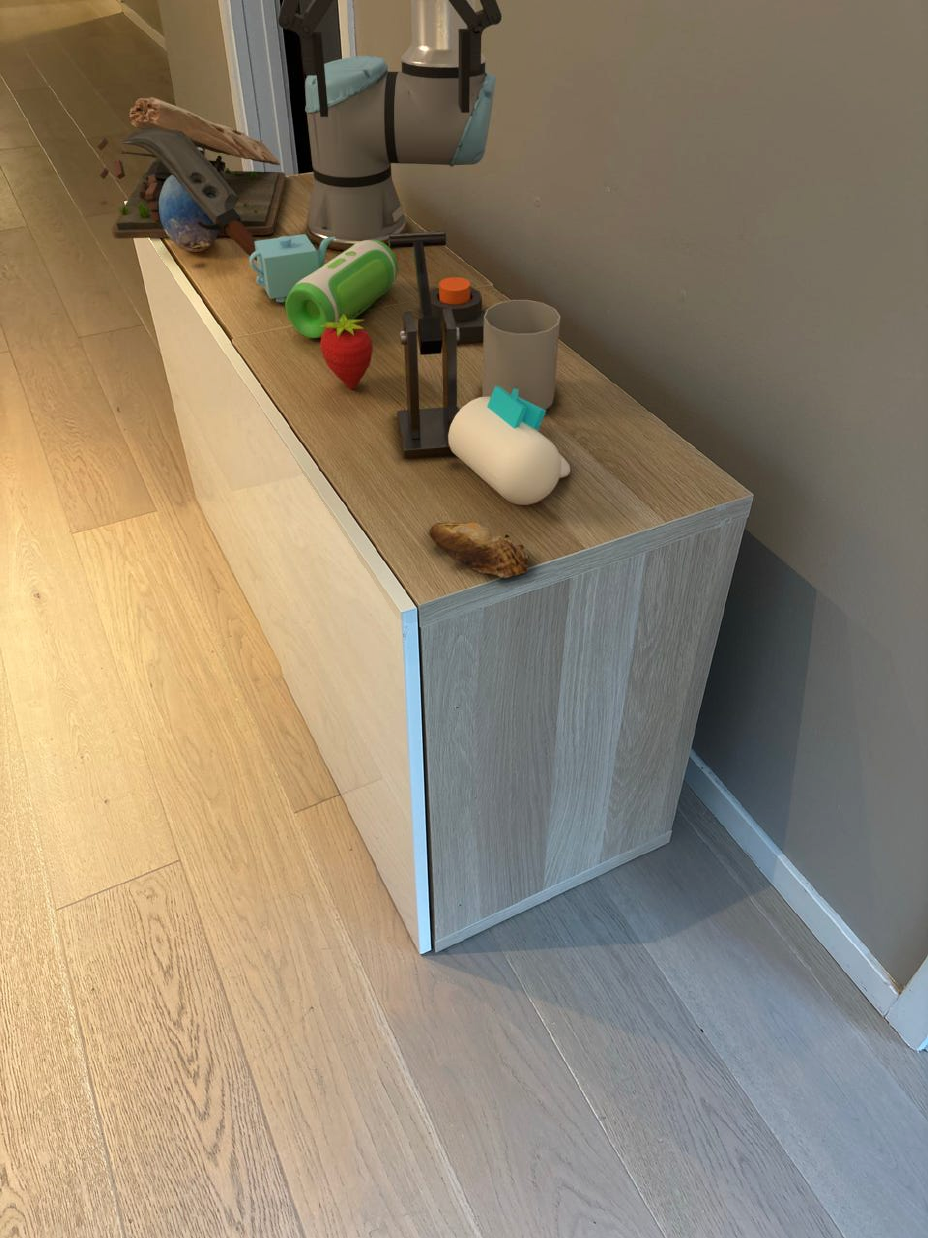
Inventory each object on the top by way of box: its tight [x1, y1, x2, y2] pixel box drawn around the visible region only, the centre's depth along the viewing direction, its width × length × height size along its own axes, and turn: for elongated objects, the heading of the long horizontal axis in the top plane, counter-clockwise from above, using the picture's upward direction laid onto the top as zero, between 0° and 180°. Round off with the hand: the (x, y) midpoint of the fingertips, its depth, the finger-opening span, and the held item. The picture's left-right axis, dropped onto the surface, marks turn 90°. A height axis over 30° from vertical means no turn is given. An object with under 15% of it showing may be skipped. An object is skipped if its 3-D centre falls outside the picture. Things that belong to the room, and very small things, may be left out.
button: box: [438, 276, 471, 304], centre depth 119 cm, size 4×4×2 cm
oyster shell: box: [428, 522, 530, 579], centre depth 88 cm, size 6×4×10 cm
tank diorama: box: [96, 132, 287, 240], centre depth 148 cm, size 28×25×11 cm
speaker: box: [284, 240, 399, 339], centre depth 122 cm, size 18×7×8 cm, turn 152°
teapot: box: [248, 233, 335, 303], centre depth 127 cm, size 12×6×8 cm, turn 111°
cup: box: [481, 299, 561, 411], centre depth 106 cm, size 8×8×10 cm
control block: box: [430, 286, 485, 344], centre depth 121 cm, size 10×7×4 cm
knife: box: [122, 128, 257, 262], centre depth 132 cm, size 9×2×30 cm
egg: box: [159, 175, 218, 266], centre depth 137 cm, size 9×9×15 cm
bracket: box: [396, 308, 461, 460], centre depth 99 cm, size 8×7×14 cm
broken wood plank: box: [129, 96, 281, 166], centre depth 149 cm, size 28×12×5 cm, turn 132°
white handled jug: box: [448, 386, 571, 506], centre depth 95 cm, size 12×9×12 cm
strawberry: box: [318, 308, 374, 390], centre depth 107 cm, size 6×8×10 cm
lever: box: [388, 230, 447, 356], centre depth 97 cm, size 14×6×2 cm, turn 8°
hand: (394, 111), depth 90 cm, fingers open, 13 cm apart
